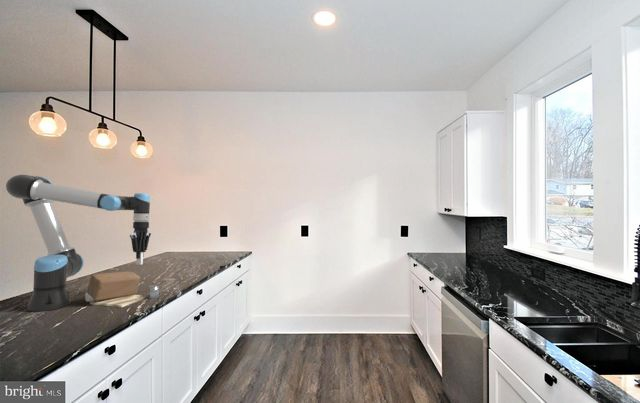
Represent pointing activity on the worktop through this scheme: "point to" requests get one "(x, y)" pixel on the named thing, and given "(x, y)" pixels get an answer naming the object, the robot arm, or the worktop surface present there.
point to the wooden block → (113, 285)
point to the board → (119, 301)
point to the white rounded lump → (88, 298)
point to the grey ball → (153, 292)
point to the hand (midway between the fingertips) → (139, 264)
